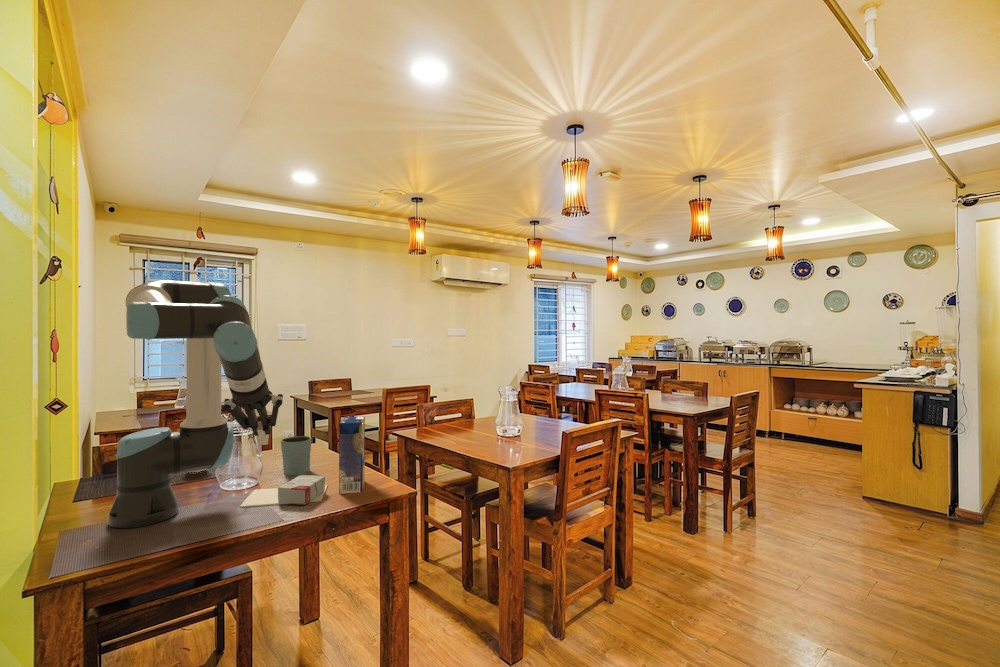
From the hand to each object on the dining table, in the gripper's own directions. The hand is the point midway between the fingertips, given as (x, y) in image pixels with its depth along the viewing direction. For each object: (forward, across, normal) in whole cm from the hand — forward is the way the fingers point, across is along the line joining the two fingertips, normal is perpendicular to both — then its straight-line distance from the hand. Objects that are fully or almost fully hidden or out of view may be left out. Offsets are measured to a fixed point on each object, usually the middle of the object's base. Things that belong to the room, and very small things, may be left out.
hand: (265, 440), depth 121 cm
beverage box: (+34, +20, +2) cm, 40 cm away
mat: (+31, +1, +1) cm, 31 cm away
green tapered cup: (+49, +1, +19) cm, 52 cm away
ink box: (+23, +4, -4) cm, 24 cm away
